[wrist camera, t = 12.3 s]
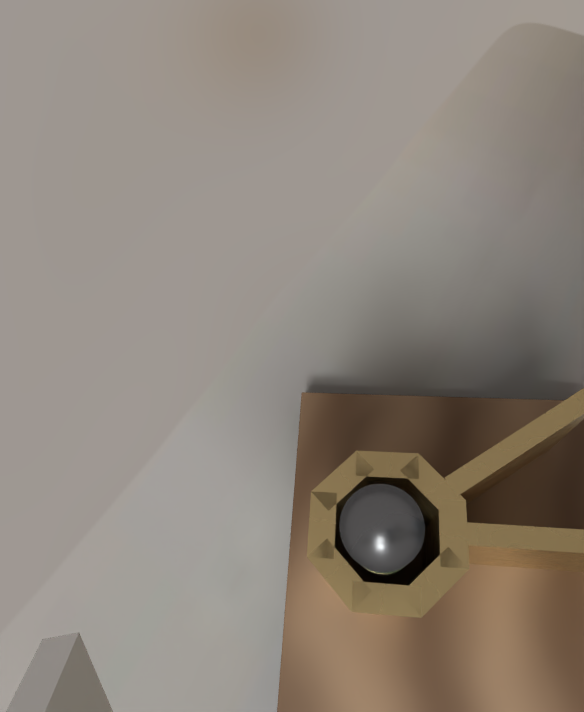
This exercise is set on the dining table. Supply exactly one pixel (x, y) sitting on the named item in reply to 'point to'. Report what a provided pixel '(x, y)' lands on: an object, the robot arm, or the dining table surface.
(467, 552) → the brass hinge
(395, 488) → the hinge pin
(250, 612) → the dining table surface
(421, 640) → the walnut board
